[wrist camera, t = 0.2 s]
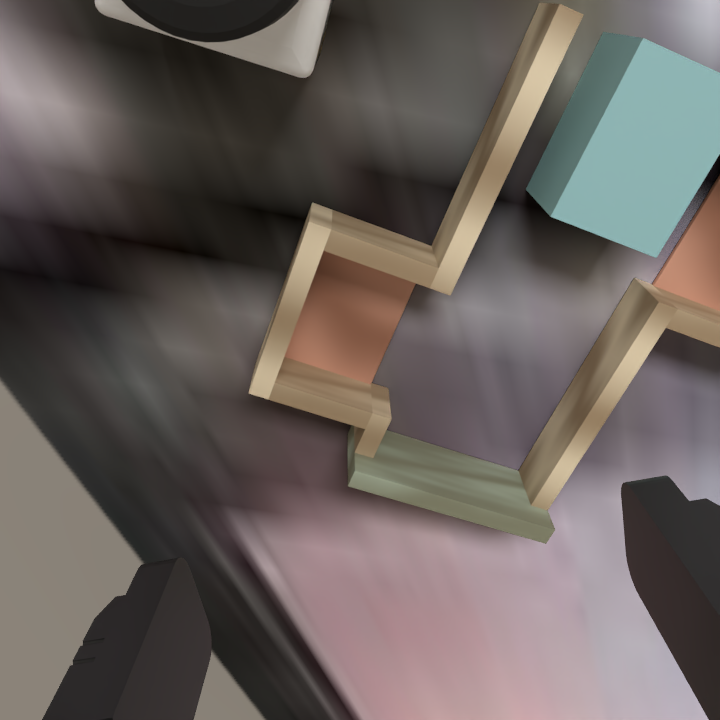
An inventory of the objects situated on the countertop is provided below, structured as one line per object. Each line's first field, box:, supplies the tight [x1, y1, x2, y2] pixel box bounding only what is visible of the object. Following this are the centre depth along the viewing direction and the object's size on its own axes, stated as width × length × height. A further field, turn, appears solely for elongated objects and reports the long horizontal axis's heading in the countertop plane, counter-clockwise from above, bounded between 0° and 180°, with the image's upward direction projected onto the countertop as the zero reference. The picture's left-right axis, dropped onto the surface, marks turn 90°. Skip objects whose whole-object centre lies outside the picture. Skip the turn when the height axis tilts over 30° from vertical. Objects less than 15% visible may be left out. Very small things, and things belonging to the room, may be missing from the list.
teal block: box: [526, 32, 720, 258], centre depth 29 cm, size 7×5×4 cm
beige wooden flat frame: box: [249, 3, 720, 544], centre depth 32 cm, size 22×23×4 cm
